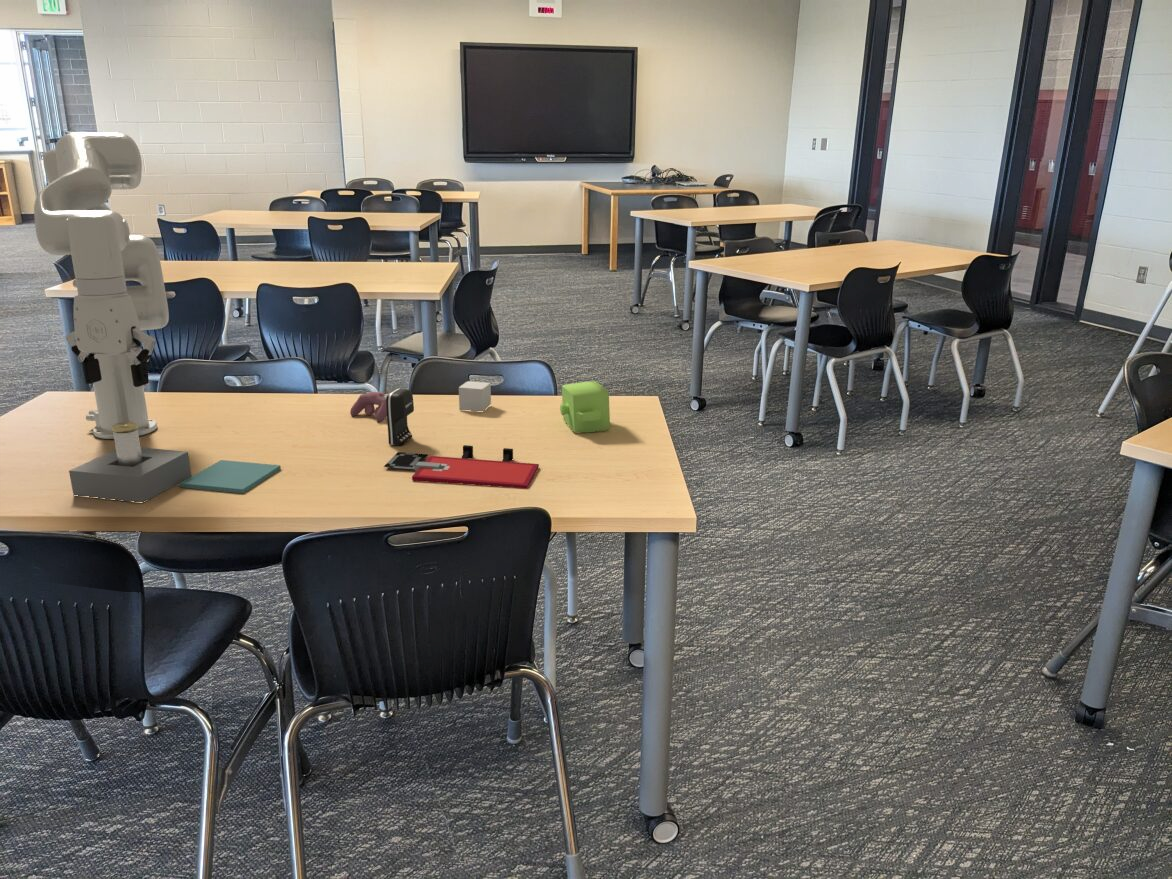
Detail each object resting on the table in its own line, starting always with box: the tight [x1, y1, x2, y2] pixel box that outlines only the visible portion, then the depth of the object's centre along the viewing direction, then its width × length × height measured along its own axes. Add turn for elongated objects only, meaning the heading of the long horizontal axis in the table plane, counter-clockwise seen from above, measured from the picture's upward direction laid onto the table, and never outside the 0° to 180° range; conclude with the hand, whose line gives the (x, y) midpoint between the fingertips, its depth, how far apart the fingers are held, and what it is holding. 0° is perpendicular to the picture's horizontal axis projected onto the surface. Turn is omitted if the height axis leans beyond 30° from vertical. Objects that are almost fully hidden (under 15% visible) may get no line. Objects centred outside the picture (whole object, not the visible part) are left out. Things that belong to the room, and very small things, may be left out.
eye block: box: [68, 446, 192, 503], centre depth 161 cm, size 14×14×5 cm
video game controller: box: [349, 391, 387, 423], centre depth 205 cm, size 10×5×7 cm, turn 58°
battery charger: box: [386, 388, 415, 446], centre depth 186 cm, size 7×4×11 cm, turn 168°
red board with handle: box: [383, 445, 540, 489], centre depth 172 cm, size 30×3×15 cm
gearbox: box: [559, 380, 611, 434], centre depth 200 cm, size 18×10×10 cm, turn 16°
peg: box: [112, 422, 143, 467], centre depth 160 cm, size 4×4×12 cm
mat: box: [179, 459, 282, 494], centre depth 166 cm, size 13×13×1 cm
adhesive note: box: [458, 380, 492, 412], centre depth 212 cm, size 6×6×6 cm
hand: (117, 383), depth 155 cm, fingers open, 9 cm apart
